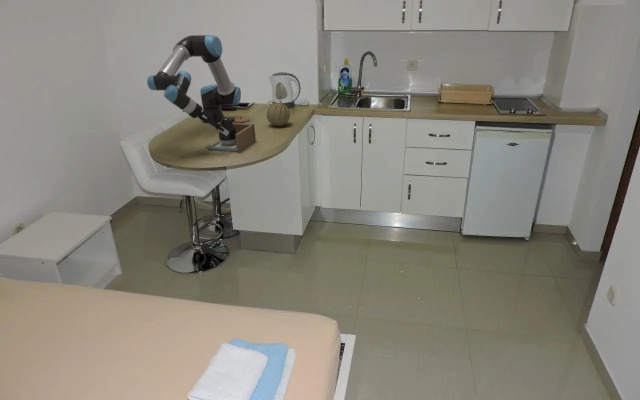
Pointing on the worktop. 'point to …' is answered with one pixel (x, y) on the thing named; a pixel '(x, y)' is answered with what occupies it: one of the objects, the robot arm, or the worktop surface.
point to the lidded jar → (242, 120)
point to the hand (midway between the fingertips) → (223, 131)
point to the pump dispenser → (230, 127)
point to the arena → (238, 139)
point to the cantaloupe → (278, 114)
